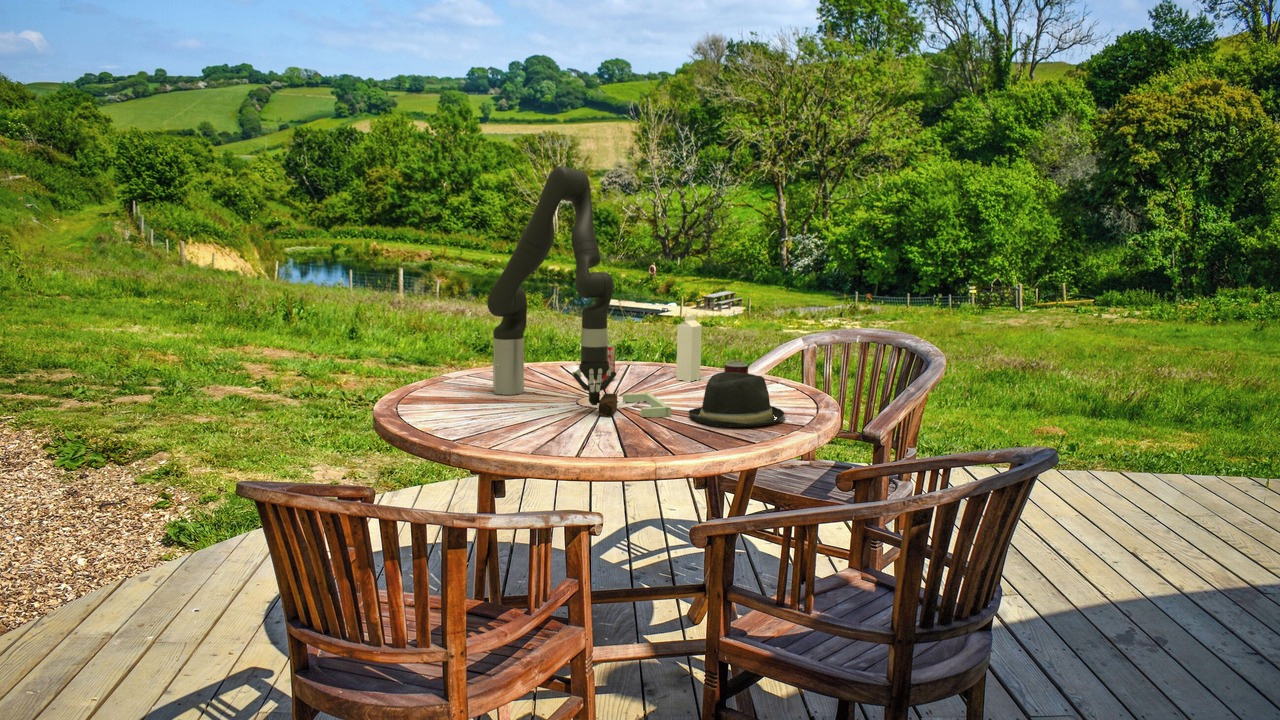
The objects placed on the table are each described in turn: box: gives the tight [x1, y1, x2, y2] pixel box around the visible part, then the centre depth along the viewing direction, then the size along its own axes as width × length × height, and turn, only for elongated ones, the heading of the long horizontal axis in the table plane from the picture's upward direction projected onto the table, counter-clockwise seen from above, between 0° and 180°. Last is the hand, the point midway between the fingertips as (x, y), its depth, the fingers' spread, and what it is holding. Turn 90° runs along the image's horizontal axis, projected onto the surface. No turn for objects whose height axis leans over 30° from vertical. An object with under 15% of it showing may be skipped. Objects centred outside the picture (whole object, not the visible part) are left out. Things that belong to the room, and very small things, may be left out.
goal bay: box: [622, 392, 672, 418], centre depth 247 cm, size 8×21×2 cm, turn 16°
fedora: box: [688, 371, 785, 428], centre depth 237 cm, size 25×27×12 cm
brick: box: [598, 393, 618, 417], centre depth 241 cm, size 11×4×5 cm, turn 174°
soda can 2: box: [723, 360, 749, 374], centre depth 257 cm, size 7×7×12 cm
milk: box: [675, 315, 703, 382], centre depth 291 cm, size 6×6×22 cm
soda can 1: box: [601, 343, 616, 383], centre depth 289 cm, size 7×7×12 cm
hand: (594, 404), depth 242 cm, fingers closed
